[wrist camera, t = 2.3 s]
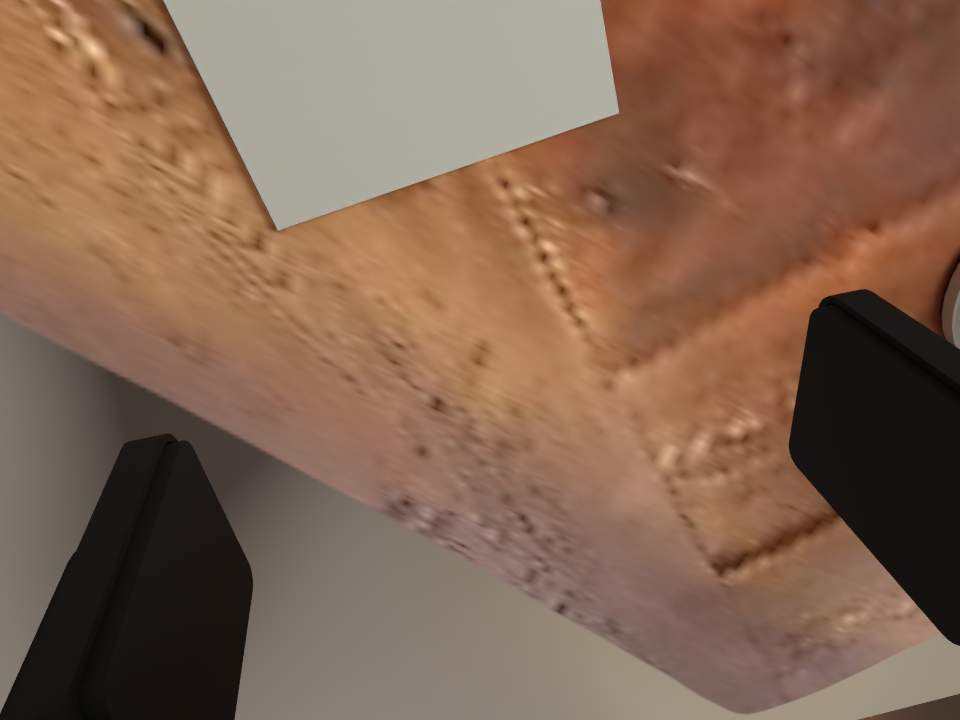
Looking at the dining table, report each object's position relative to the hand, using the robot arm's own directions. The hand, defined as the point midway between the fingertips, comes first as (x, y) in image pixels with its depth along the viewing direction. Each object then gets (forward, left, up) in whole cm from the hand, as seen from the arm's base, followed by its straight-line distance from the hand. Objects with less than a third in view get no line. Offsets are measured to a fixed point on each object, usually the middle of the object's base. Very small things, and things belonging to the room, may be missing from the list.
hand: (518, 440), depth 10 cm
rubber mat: (-1, -4, -22) cm, 22 cm away
